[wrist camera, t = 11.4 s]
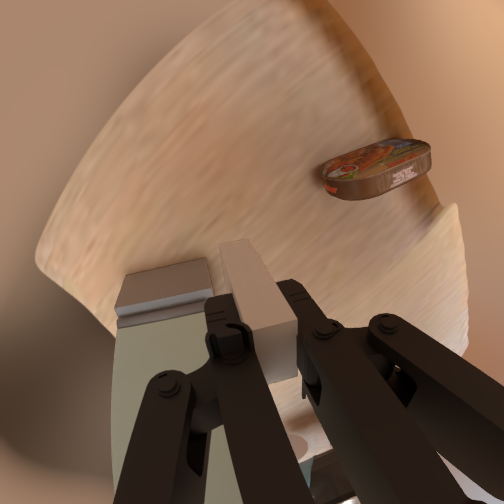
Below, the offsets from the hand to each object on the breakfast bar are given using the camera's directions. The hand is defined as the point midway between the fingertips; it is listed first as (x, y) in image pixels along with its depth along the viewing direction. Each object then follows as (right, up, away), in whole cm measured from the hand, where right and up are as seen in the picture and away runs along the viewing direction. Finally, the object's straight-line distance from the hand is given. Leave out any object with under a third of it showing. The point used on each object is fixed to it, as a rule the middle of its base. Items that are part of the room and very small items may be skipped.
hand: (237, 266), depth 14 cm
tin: (+14, +12, +18) cm, 26 cm away
